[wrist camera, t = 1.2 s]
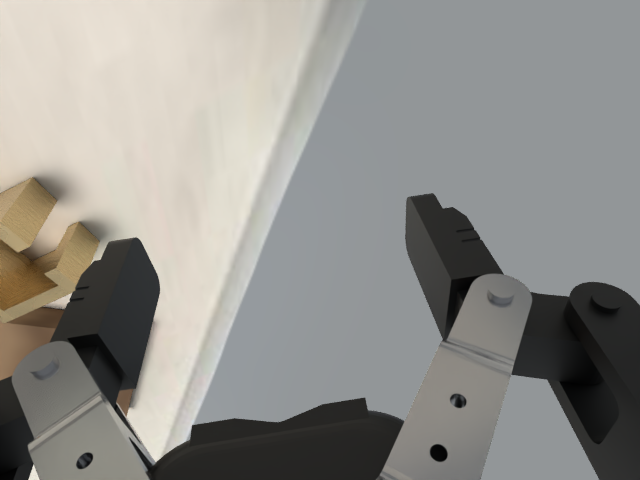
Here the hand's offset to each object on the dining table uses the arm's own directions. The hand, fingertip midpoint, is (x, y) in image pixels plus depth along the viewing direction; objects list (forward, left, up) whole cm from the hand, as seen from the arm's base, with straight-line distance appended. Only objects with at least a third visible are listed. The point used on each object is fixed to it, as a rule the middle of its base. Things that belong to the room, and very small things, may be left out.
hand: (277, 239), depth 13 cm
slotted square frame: (-12, -16, -17) cm, 26 cm away
